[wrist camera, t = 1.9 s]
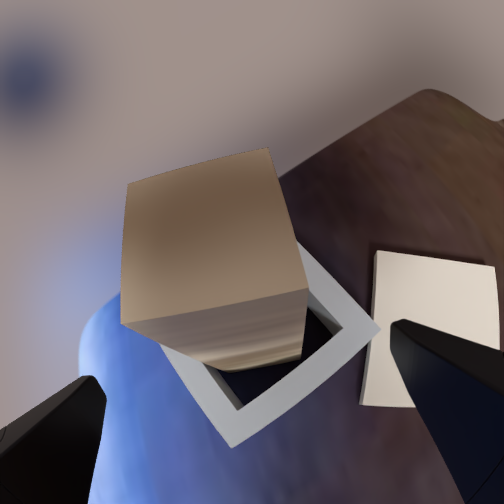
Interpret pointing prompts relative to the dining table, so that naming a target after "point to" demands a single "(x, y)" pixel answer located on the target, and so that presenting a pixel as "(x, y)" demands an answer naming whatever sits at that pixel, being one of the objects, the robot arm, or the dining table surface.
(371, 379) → the tile
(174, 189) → the peg
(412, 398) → the robot arm
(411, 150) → the dining table surface
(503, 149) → the dining table surface
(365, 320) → the holder
